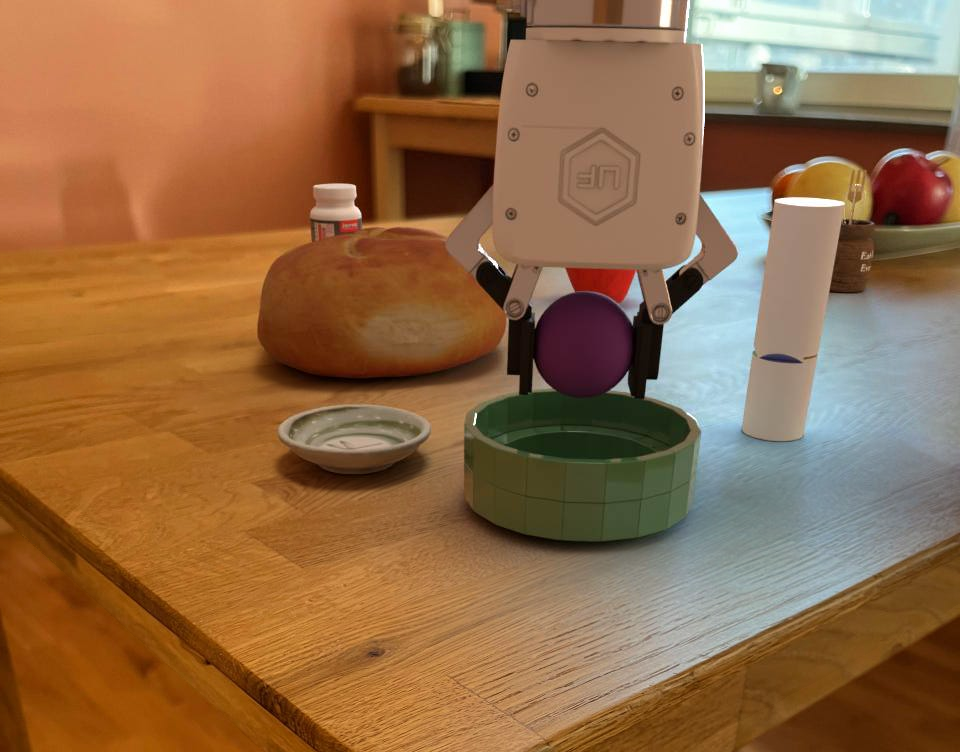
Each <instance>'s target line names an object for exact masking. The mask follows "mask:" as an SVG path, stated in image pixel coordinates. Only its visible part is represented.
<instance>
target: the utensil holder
mask: <svg viewBox="0 0 960 752" xmlns="http://www.w3.org/2000/svg"><path fill="white" fill-rule="evenodd" d="M861 172H862V170H861V169H858V170H857V175H856V180H855V173H856V170H855V168H854V169H852V170H851V175H850V181H849V185H848V187H847V188H846V190H844V193H843V195H842V200H841V202H843V203H845V205H844V210H843V218H842V222H841V227H840V233H839V239H838V244H837V250H836V256H835V261H834V267H833V273H832V278H831V284H830V290H829V292H831V293H832V292H834V293H858V292H862V291H864V290H865V289H866V288H867V285H868V281H869V277H870V274H871V273H870V272H871V269H872V268H871V267H872V262H873V257H874V250H875V245H874V244H875V243H874V241H873V240H872V239H871V237H873V236H874V234H875V223H874V222H873V221H869V220H864V219H861V216H862V214H863V212H864V210H865V207H862V203H863V197H864V195H863V194H864V193H865V197H864V200H866V199H867V192H866V189H865V183H866V177H867V173H868V171H867V169H864V170H863V173H862V179H861V184H860V178H861ZM854 180H855V183H854ZM853 188H854V190H853ZM859 188H860V190H859ZM845 195H846V196H845ZM844 198H845V201H844ZM847 200H848V201H849V202H850V203H851V208H850V212H849V213H850V214H849V218H846V204H847ZM858 202H860V206H859V209H858V211H857V215H856V217H855V219H854V213H855V207H856V204H857V203H858ZM863 204H864V205H863V206H865V205H866V202H864V203H863ZM861 209H862V212H861ZM859 215H860V216H859Z"/></svg>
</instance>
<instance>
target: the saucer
mask: <svg viewBox="0 0 960 752" xmlns="http://www.w3.org/2000/svg"><path fill="white" fill-rule="evenodd" d="M431 432H432V427H431V424H430V422H429V421H428V420H427V419H426V418H425V417H423V416H422V415H420V414H417V413H415V412H412V411H409V410H407V409H403V408H399V407H394V406H386V405H379V404H365V403H363V404H341V405H340V404H338V405H330V406H322V407H317V408H313V409H309V410H305V411H302V412H298V413H296V414H294V415H292V416H290V417H288V418H286V419H285V420H283V421H282V423H280V424H279V425H278V427H277V437H278V440H279V441H280V443H282V444H283V445H284V446H286V447H287V448H289V449H290V450H291V451H292V452H293V453H295V455H297V456H298V457H300V458H302V459H304V460H306V461H307V462H310V463H313V464H317V465H318V466H319V467H320V468H321V469H323V470H325V471H327V472H331V473H333V474H340V475H341V474H343V475H366V474H372V473H373V474H374V473H377V472H378V473H379V472H381V471H384V470H387V469H388V468H390V467H392V466H393V465H395V463H396V462H399V461H401V460H403V459H406V458H407V457H409V456H410V455H412V454H413V453H415V452H416V450H417V449H418V448H420V447H421V445H422V444H424V443H425V442H426V441H428V439H429V438H430V436H431Z"/></svg>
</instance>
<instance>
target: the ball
mask: <svg viewBox="0 0 960 752" xmlns="http://www.w3.org/2000/svg"><path fill="white" fill-rule="evenodd" d="M634 350H635V333H634V329H633V322H632V321H631V319H630V316H629V315H628V313H627V312H626V311H625V309H624V307H622V306H621V305H620V303H619V304H618V303H617V302H615V301H614V300H613V299H611V298H609V297H607V296H606V295H603V294H600V293H597V292H591V291H579V292H575V291H574V292H570V293H568V294H565V295H563V296H561V297H559V298H557V299H555V300H554V301H553V302H552V303H551V304H550V305H549V306H547V307H546V309H544V311H543V312H542V313H541V315H540V316H539V318H538V321H537V322H536V324H535V335H534V357H533V363H534V366H535V368H536V369H537V372H538V374H539V376H540V377H541V379H543V381H544V382H545V383H546V384H547V385H548V386H549V388H553V389H554V390H556V391H557V392H559V393H561V394H564V395H566V396H569V397H574V398H591V397H595V396H599V395H602V394H604V393H606V392H608V391H609V390H611V391H612V390H613V389H614V388H615V387H617V386H618V384H619V383H621V381H622V380H623V379H624V378H625V377H626V375H627V374H628V370H629V368H630V366H631V364H632V361H633V357H634Z"/></svg>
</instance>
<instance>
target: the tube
mask: <svg viewBox="0 0 960 752" xmlns="http://www.w3.org/2000/svg"><path fill="white" fill-rule="evenodd" d="M845 206H846V205H845V202H844V201H843V202H842V200H841V201H840V200H836V199H828V198H818V197H781V198H780V197H779V198H776V199H774V203H773V208H772V217H771V223H770V229H769V237H768V242H767V243H768V244H767V251H766V258H765V265H764V272H763V279H762V285H761V286H762V287H761V292H760V297H759V306H758V312H757V318H756V327H755V332H754V338H753V339H754V340H753V348H754V350H753V351H752V354H751V360H750V367H749V374H748V380H747V387H746V394H745V401H744V409H743V414H742V422H741V431H742V432H743V433H744V434H745V435H747V436H749V437H752V438H755V439H758V440H763V441H771V442H790V441H796V440H798V439H801V438H803V436H804V434H805V429H806V423H807V419H808V412H809V406H810V402H811V401H810V400H811V396H812V390H813V384H814V378H815V373H816V368H817V367H816V366H817V361H818V355H819V351H820V350H819V349H820V344H821V339H822V334H823V328H824V322H825V317H826V311H827V306H828V300H829V296H830V295H829V294H830V291H829V290H830V284H831V278H832V273H833V267H834V261H835V256H836V250H837V244H838V239H839V233H840V227H841V222H842V219H843V217H844V207H845Z"/></svg>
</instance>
